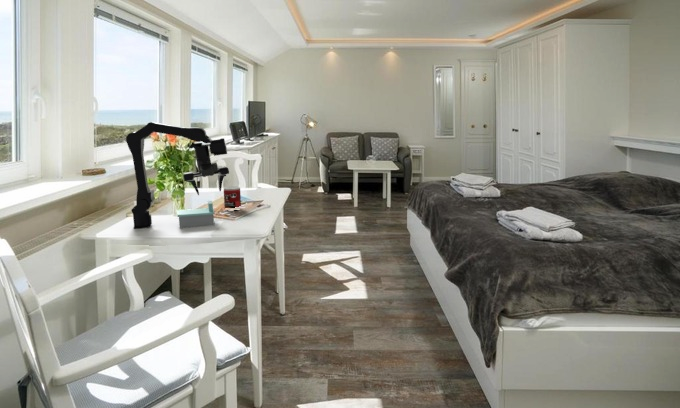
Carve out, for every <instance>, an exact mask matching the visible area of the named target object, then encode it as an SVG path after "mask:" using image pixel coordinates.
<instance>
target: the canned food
mask: <svg viewBox="0 0 680 408" xmlns="http://www.w3.org/2000/svg"><path fill="white" fill-rule="evenodd" d="M241 196H242V195H241V187H239V186H226V187H223V204H224V206H223V207H224V209H225V208H235V207H239V206H241V207H242V201H241V200H242V199H241Z"/></svg>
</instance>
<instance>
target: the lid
mask: <svg viewBox="0 0 680 408" xmlns="http://www.w3.org/2000/svg"><path fill="white" fill-rule="evenodd" d="M176 212H177V218H179V217H183V216H197V215H210V214H213V215H215V213H216V212H215V210H214V205H213V200H208V201H207V207H203V208H191V209H190V208H188V209H177V211H176Z"/></svg>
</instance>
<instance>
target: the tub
mask: <svg viewBox="0 0 680 408" xmlns="http://www.w3.org/2000/svg"><path fill="white" fill-rule="evenodd" d="M214 215H215V214H210V215H197V216H183V217H178V223H179V224H178V225H179V229H186V228H188V229H189V228H197V227H211V226H215V220H214V219H215V217H214Z"/></svg>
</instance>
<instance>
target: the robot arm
mask: <svg viewBox="0 0 680 408" xmlns="http://www.w3.org/2000/svg"><path fill="white" fill-rule="evenodd" d="M153 133H159V134H164V135H170V136H176V137H177V136H178V137H182V138H185V139H188V140H191V141H192V142H191V144H190V145H189V147H188V148H189V149H193V150H194V154H195V159H196V167H197V170H198V172H195V173H193V171H189V172H183V174H182V178H183V181H184V182H187V183H190V184H191V185H192V187H193V189H194V191H195V192H196V194H197V196H200V192H199V189H198V186H197V182H196V180H195V178H200V177H203V178H206V177H208V176H209V177H210V176H214V175H217V181H218V189H219V192H221V191H222V186H223V182H224V178H225V177H227V175H229V174H230V171H229V168H228V167H227V166H226V165H225V166H219V167H218V164H217V162H214V163H213V162H212V161H211V156H210V154H211V155H213V156H214V157H215V156H216V157H217V156H223V155H228V150H227V145H226V141H225V137H223V138H219V139H211V137H209V136H208V135H207V132H206V130H205V128H203V127H201V126H200V127H199V126H198V127H197V126H196V127H195V126H194V127H193V126H192V127H191V126H190V127H189V126H187V127H182V126H176V125H170V124H164V123H159V122H154V121H150V122H148V123H146V125H145V126H143V127H141V128H140V129H138V130H137V131H134V132H133V131H132V132H130V133H128V134H127V135H126V136H125V141H126V144H127V146H128V149H129V151H130V153H131V155H132V161H133V162H132V163H133V168H134V173H135V178H136V179H135V180H136V185H137V186H136V187H137V190H136V191H137V192H136V202H135V203H136V204H135V205H134V206H133V207H132V209H131V213H132V217H133V229H141V228H144V229H145V228H151V226H152V224H153V223H152V222H153V221H152V214H151V213H150V208H151V207H152V205H153V204H154V202H155V200H156V198H155V191H154V189H150V188H149V183H148V177H147V176H148V175H147V171H146V163H145V158H144V157H145V156H144V149H145V139H146V138H148V137H150V135H152V134H153ZM195 142H196V143H195ZM203 143H204V144H203Z"/></svg>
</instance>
